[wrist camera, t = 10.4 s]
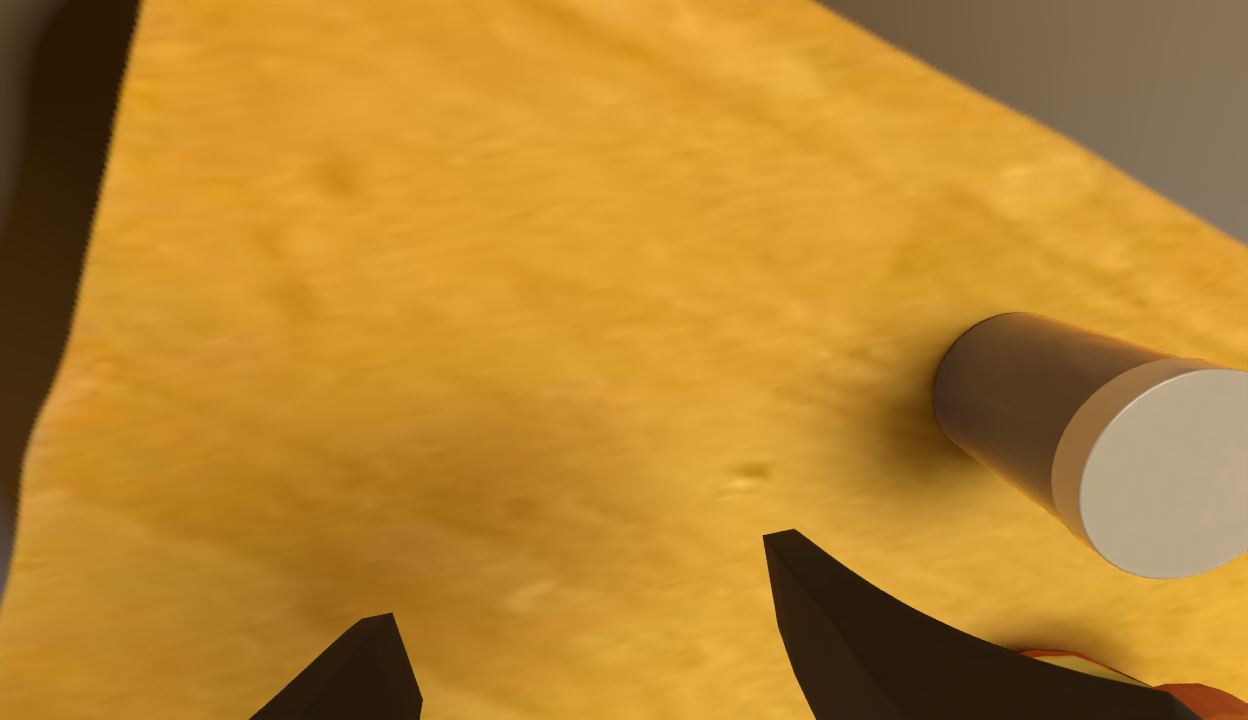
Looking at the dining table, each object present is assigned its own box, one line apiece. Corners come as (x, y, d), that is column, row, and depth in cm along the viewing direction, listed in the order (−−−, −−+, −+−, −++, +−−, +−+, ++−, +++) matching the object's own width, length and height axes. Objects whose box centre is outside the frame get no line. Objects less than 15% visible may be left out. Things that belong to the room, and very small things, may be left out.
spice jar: (1039, 478, 23) (1226, 604, 16) (903, 434, 22) (1038, 545, 15) (1114, 338, 22) (1352, 410, 15) (973, 287, 21) (1153, 337, 14)
